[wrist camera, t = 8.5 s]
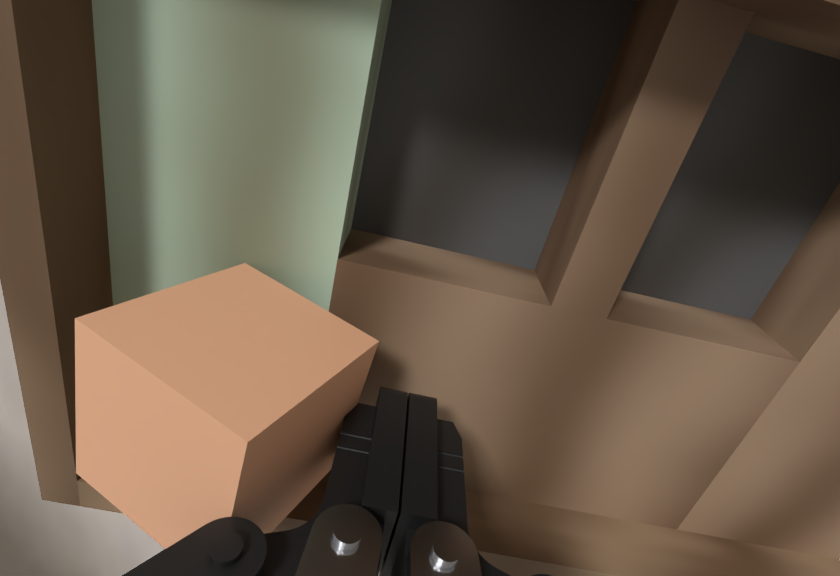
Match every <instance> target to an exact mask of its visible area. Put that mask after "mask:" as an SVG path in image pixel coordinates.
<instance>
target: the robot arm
mask: <svg viewBox="0 0 840 576" xmlns="http://www.w3.org/2000/svg"><path fill="white" fill-rule="evenodd" d="M462 458H463V449H462V438H461V436H460V434H459V432H458V431H457V429H456V427H455V425H454V423H453V422H450V421H445V420H440V419H437V398H434V397H429V396H424V395H419V394H414V393H409V394H408V392H404V391H399V390H394V389H389V388H385V387H380V390H379V394H378V398H377V402H376V406H371V405H366V404H361V403H358V404H357V405H356V406H355V407H354V408H353V409H352V410H351V411H350V412H349V413H348V414H347V415H345V416H344V420H343V424H342V428H341V432H340V436H339V440H338V444H337V448H336V452H335V456H334V460H333V464H332V468H331V472H330V476H329V480H328V484H327V488H326V492H325V496H324V500H323V503H322V505H321V507H320V509H319V511H318V512H317V513H316V515H315V516H314V517H313V518H312V519H310V520H309V521H308V522H306V523H305V524H303V525H301V526H299V527H297V528H294V529H291V530H286V531H279V532H272V533H265V534H264V533H263V532H262V530H261V529H260V528H259V527H258V526H257V525H256V524H255V523H253V522H252V521H250V520H247V519H245V518H240V517H224V518H220V519H216V520H214V521H211V522H209V523H207V524H205V525H204V526H202V527H200V528H199V529H197V530H196V531H194V532H192V533H191V534H189V535H187V536H186V537H184V538H183V539H181V540H179V541H178V542H176V543H174V544H173V545H171V546H170V547H168V548H166V549H165V550H163V551H161V552H160V553H158V554H157V555H155V556H153V557H152V558H150V559H148V560H147V561H145V562H144V563H142V564H140V565H139V566H137V567H135V568H134V569H132V570H131V571H129V572H127V573H126V574H124V575H122V576H378V574H379V571H380V574H379V576H510V575H509V574H507V573H505V572H503V571H501V570H499V569H497V568H496V567H494V566H492V565H491V564H490V563H489V562H487V561H486V560H485V559H484V558H483V557H482V556H481V555H480V554H479V552H478V551H477V549H476V546H475V544H474V543H473V541H472V539H471V538H470V536H469V532H468V525H467V509H466V494H465V479H464V473H463V471H464V464H463V459H462ZM531 576H551V575H548V574H535V575H531Z"/></svg>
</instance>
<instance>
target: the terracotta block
mask: <svg viewBox="0 0 840 576" xmlns="http://www.w3.org/2000/svg"><path fill="white" fill-rule="evenodd" d="M378 343H379V341H378V340H376V339H375V338H373V337H371V336H370V335H368V334H366V333H364V332H363V331H361V330H359V329H358V328H356V327H354V326H352V325H351V324H349V323H347V322H346V321H344V320H342V319H340V318H339V317H337V316H335V315H334V314H332V313H330V312H328V311H327V310H325V309H323V308H322V307H320V306H318V305H316V304H315V303H313V302H311V301H310V300H308V299H306V298H304V297H303V296H301V295H299V294H298V293H296V292H294V291H292V290H291V289H289V288H287V287H286V286H284V285H282V284H281V283H279V282H277V281H275V280H274V279H272V278H270V277H269V276H267V275H265V274H263V273H262V272H260V271H258V270H257V269H255V268H253V267H251V266H250V265H248V264H246V263H243V264H240V265H237V266H234V267H231V268H228V269H225V270H222V271H219V272H216V273H212V274H209V275H206V276H203V277H200V278H197V279H194V280H191V281H188V282H185V283H182V284H179V285H176V286H173V287H169V288H166V289H163V290H160V291H157V292H154V293H151V294H148V295H145V296H142V297H139V298H136V299H133V300H129V301H126V302H123V303H120V304H117V305H114V306H111V307H108V308H105V309H102V310H99V311H96V312H93V313H90V314H86V315H83V316H80V317H77V318H75V412H76V473H77V474H78V475H79V476H80V477H81V478H82V479H84V480H85V481H86V482H87V483H88V484H89V485H91V486H92V487H93V488H94V489H95V490H97V491H98V492H99V493H100V494H101V495H102V496H104V497H105V498H106V499H107V500H108V501H109V502H111V503H112V504H113V505H114V506H115V507H116V508H118V509H119V510H120V511H121V512H122V513H124V514H125V515H126V516H127V517H128V518H129V519H131V520H132V521H133V522H134V523H135V524H136V525H138V526H139V527H140V528H141V529H142V530H144V531H145V532H146V533H147V534H148V535H149V536H151V537H152V538H153V539H154V540H155V541H156V542H158V543H159V544H160V545H161V546H162V547H163V548H165V549H166V548H168V547H170V546H171V545H173V544H174V543H176V542H178V541H179V540H181V539H183V538H184V537H186V536H187V535H189V534H191V533H192V532H194V531H196V530H197V529H199V528H200V527H202V526H204V525H205V524H207V523H209V522H211V521H214V520H216V519H220V518H224V517H240V518H245V519H247V520H250V521H252V522H253V523H255V524H256V525H257V526H258V527H259V528H260V529H261V530H262V532H263V533H264V534H265V533H271V532H272V531H273V530H274V529H275V528H276V527H277V526H278V525H279V524H280V523H281V522H282V521H283V520H284V518H285V517H286V516H287V515H288V514H289V513H290V512H291V511H292V510H293V509H294V508H295V507H296V506H297V505H298V504H299V503H300V502H301V501H302V499H303V498H304V497H305V496H306V495H307V494H308V493H309V492H310V491H311V490H312V489H313V488H314V487H315V486H316V485H317V484H318V483H319V482H320V481H321V479H322V478H323V477H324V476H325V475H326V474H327V473H328V472H329V471H330V470H331V468H332V464H333V460H334V456H335V452H336V448H337V444H338V440H339V436H340V432H341V428H342V424H343V420H344V416H345V415H347V414H348V413H349V412H350V411H351V410H352V409H353V408H354V407H355V406H356V405H357V404H358V401H359V398H360V395H361V392H362V390H363V387H364V384H365V381H366V378H367V375H368V372H369V369H370V366H371V363H372V360H373V358H374V355H375V352H376V349H377V346H378Z"/></svg>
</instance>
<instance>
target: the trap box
mask: <svg viewBox="0 0 840 576" xmlns="http://www.w3.org/2000/svg"><path fill="white" fill-rule="evenodd" d="M243 263H246V264H248V265H250V266H251V267H253V268H255V269H257V270H258V271H260V272H262V273H263V274H265V275H267V276H269V277H270V278H272V279H274V280H275V281H277V282H279V283H281V284H282V285H284V286H286V287H287V288H289V289H291V290H292V291H294V292H296V293H298V294H299V295H301V296H303V297H304V298H306V299H308V300H310V301H311V302H313V303H315V304H316V305H318V306H320V307H322V308H323V309H325V310H327V311H328V312H330V313H332V314H334V315H335V316H337V317H339V318H340V319H342V320H344V321H346V322H347V323H349V324H351V325H352V326H354V327H356V328H358V329H359V330H361V331H363V332H364V333H366V334H368V335H370V336H371V337H373V338H375V339H376V340H378V341H379V343H378V346H377V349H376V352H375V355H374V358H373V360H372V363H371V366H370V369H369V372H368V375H367V378H366V381H365V384H364V387H363V390H362V392H361V395H360V398H359V401H358V403H361V404H366V405H371V406H376V402H377V398H378V394H379V390H380V387H385V388H389V389H394V390H399V391H404V392H408V394H409V393H414V394H419V395H424V396H429V397H434V398H437V419H440V420H445V421H450V422H453V423H454V425H455V427H456V429H457V431H458V432H459V434H460V436H461V438H462V449H463V458H462V459H463V464H464V471H463V473H464V479H465V494H466V509H467V525H468V532H469V536H470V538H471V539H472V541H473V543H474V544H475V546H476V549H477V551H478V552H479V554H480V555H481V556H482V557H483V558H484V559H485V560H486V561H487V562H489V563H490V564H491V565H492V566H494V567H496V568H497V569H499V570H501V571H503V572H505V573H507V574H509V575H510V576H531V575H535V574H548V575H551V576H840V560H839V559H840V0H0V280H1V285H2V290H3V295H4V301H5V306H6V311H7V317H8V322H9V327H10V332H11V338H12V343H13V348H14V353H15V359H16V364H17V369H18V375H19V380H20V385H21V390H22V396H23V401H24V406H25V412H26V417H27V422H28V427H29V433H30V438H31V443H32V449H33V454H34V459H35V464H36V470H37V475H38V480H39V486H40V491H41V496H42V500H47V501H53V502H59V503H65V504H71V505H77V506H83V507H89V508H94V509H100V510H106V511H112V512H118V513H122V512H121V511H120V510H119V509H118V508H116V507H115V506H114V505H113V504H112V503H111V502H109V501H108V500H107V499H106V498H105V497H104V496H102V495H101V494H100V493H99V492H98V491H97V490H95V489H94V488H93V487H92V486H91V485H89V484H88V483H87V482H86V481H85V480H84V479H82V478H81V477H80V476H79V475H78V474H77V473H76V412H75V318H77V317H80V316H83V315H86V314H90V313H93V312H96V311H99V310H102V309H105V308H108V307H111V306H114V305H117V304H120V303H123V302H126V301H129V300H133V299H136V298H139V297H142V296H145V295H148V294H151V293H154V292H157V291H160V290H163V289H166V288H169V287H173V286H176V285H179V284H182V283H185V282H188V281H191V280H194V279H197V278H200V277H203V276H206V275H209V274H212V273H216V272H219V271H222V270H225V269H228V268H231V267H234V266H237V265H240V264H243ZM330 472H331V470H330V471H329V472H328V473H327V474H326V475H325V476H324V477H323V478H322V479H321V481H320V482H319V483H318V484H317V485H316V486H315V487H314V488H313V489H312V490H311V491H310V492H309V493H308V494H307V495H306V496H305V497H304V498H303V499H302V501H301V502H300V503H299V504H298V505H297V506H296V507H295V508H294V509H293V510H292V511H291V512H290V513H289V514H288V515H287V516H286V517H285V518H284V520H283V521H282V522H281V523H280V524H279V525H278V526H277V527H276V528H275V529H274V530H273V531H272V532H279V531H286V530H291V529H294V528H297V527H299V526H301V525H303V524H305V523H306V522H308V521H309V520H310V519H312V518H313V517H314V516H315V515H316V513H317V512H318V511H319V509H320V507H321V505H322V503H323V500H324V496H325V492H326V488H327V484H328V480H329V476H330ZM272 532H271V533H272Z"/></svg>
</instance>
